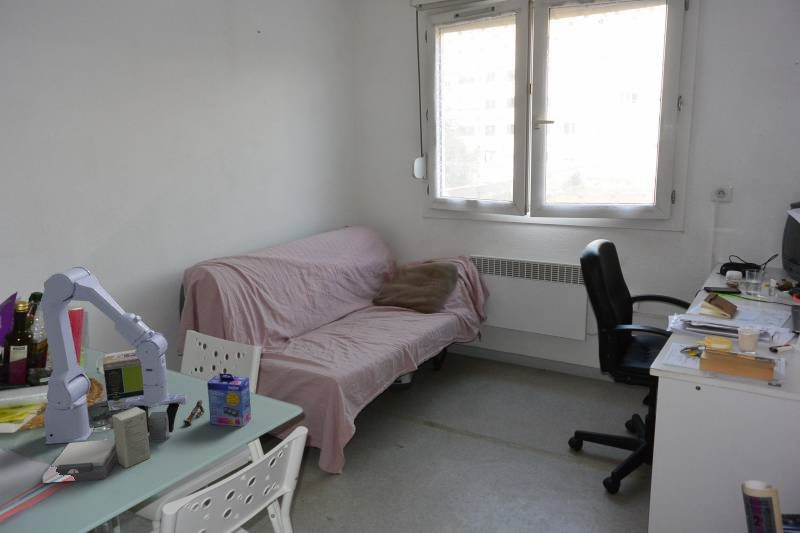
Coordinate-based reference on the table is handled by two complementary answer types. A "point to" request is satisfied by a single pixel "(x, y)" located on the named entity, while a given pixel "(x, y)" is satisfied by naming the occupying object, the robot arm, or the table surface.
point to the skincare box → (131, 436)
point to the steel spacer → (158, 426)
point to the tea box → (122, 377)
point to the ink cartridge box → (229, 400)
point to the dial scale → (86, 459)
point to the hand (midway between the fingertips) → (159, 431)
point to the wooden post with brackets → (198, 406)
